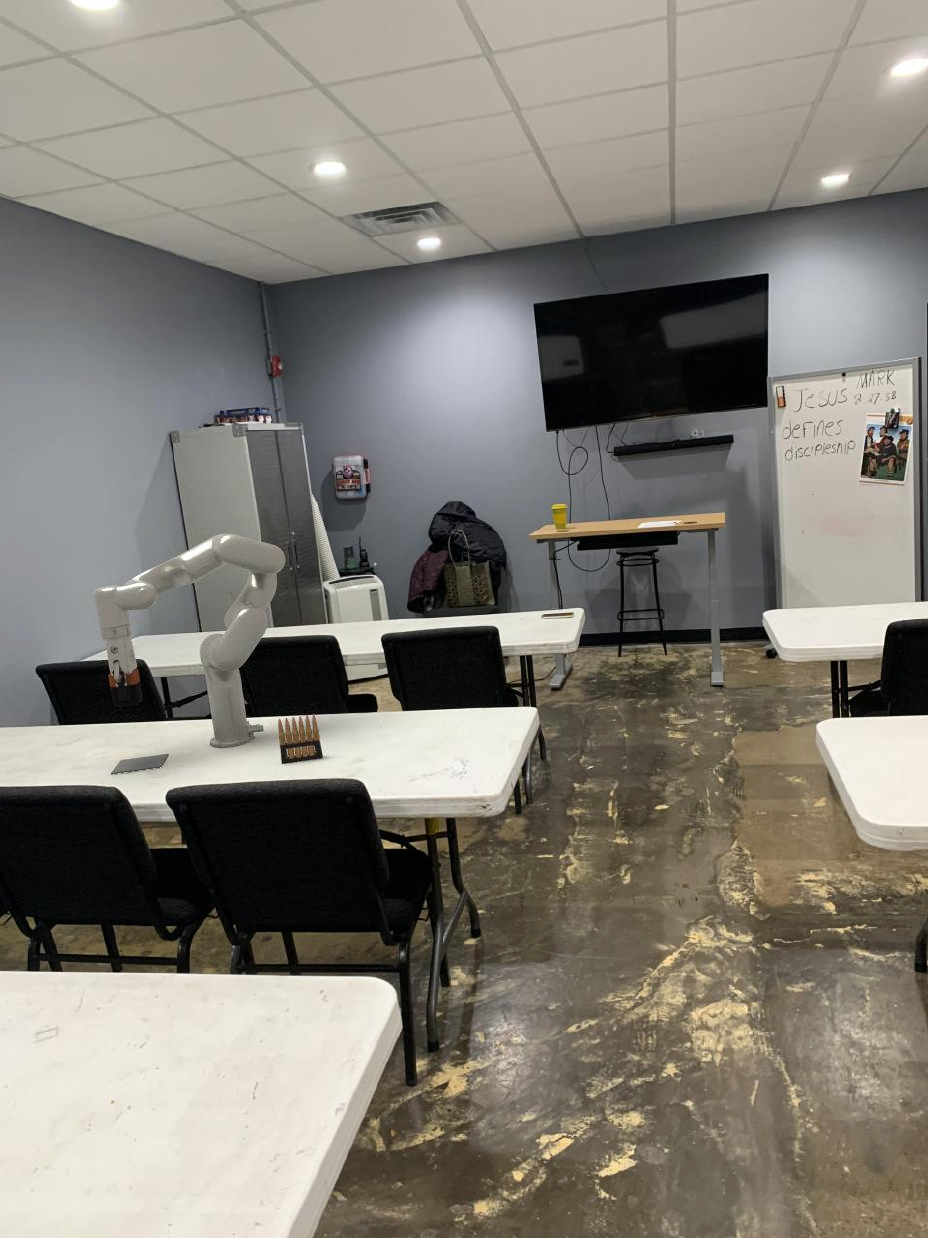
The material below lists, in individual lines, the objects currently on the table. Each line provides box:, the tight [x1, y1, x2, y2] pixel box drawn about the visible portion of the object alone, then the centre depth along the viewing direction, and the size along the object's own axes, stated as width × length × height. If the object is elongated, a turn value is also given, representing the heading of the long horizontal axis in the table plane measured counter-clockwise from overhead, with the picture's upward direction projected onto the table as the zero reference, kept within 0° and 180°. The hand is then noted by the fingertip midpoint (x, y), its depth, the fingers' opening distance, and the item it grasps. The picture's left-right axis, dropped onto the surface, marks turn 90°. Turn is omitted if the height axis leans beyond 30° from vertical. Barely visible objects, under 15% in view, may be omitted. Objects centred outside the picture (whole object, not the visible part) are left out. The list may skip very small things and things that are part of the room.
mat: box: [110, 752, 170, 776], centre depth 236 cm, size 13×11×1 cm
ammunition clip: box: [277, 713, 324, 765], centre depth 226 cm, size 11×2×12 cm, turn 98°
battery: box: [108, 668, 144, 708], centre depth 233 cm, size 4×7×10 cm, turn 93°
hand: (127, 697), depth 233 cm, fingers closed on battery, 4 cm apart
